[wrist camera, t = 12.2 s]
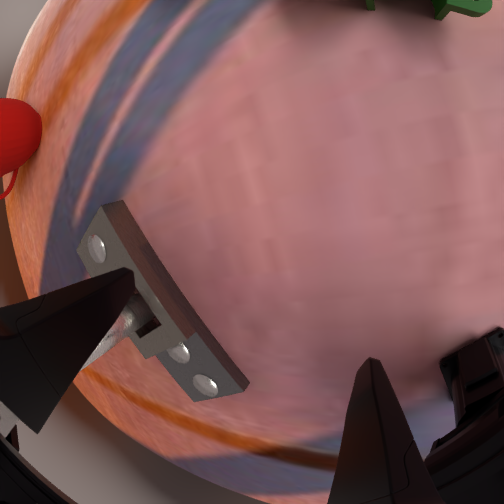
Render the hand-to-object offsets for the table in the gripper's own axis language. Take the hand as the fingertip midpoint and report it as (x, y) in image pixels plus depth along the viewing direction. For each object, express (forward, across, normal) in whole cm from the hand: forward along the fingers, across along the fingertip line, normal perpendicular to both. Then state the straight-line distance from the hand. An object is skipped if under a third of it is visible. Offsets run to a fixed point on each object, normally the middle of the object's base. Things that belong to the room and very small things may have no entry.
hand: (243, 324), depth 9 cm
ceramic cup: (+20, +44, +4) cm, 49 cm away
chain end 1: (+13, +14, +14) cm, 24 cm away
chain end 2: (+11, +9, +18) cm, 23 cm away
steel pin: (+12, +12, +16) cm, 23 cm away
